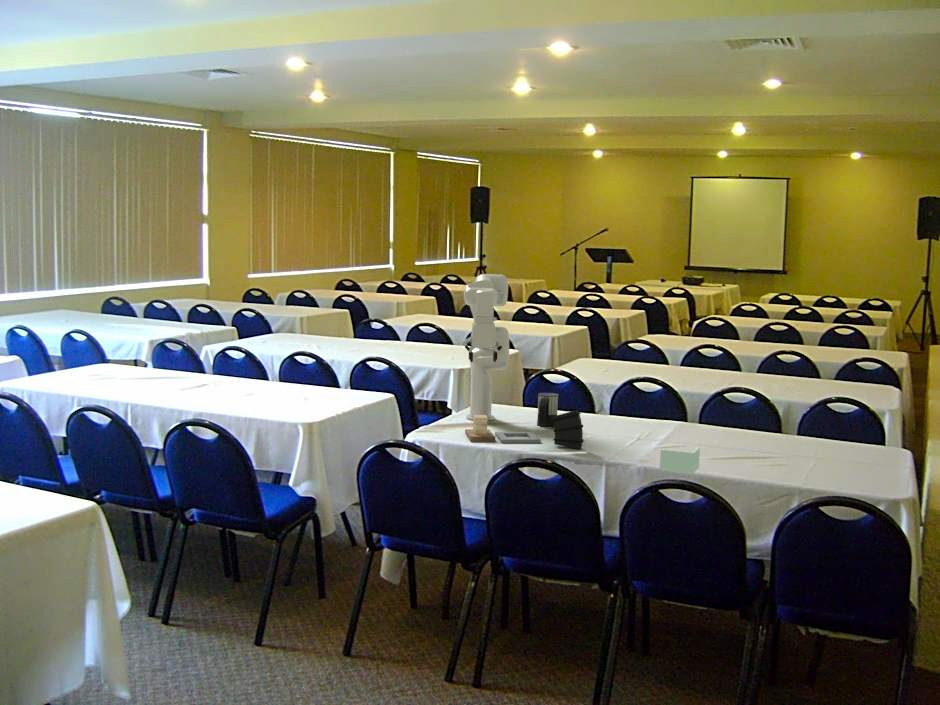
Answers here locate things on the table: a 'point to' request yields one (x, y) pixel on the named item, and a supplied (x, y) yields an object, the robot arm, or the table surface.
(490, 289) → the robot arm
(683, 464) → the right angle wall
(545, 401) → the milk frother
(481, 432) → the maple block
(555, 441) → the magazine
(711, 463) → the table surface
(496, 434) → the pocket plate
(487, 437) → the walnut board
